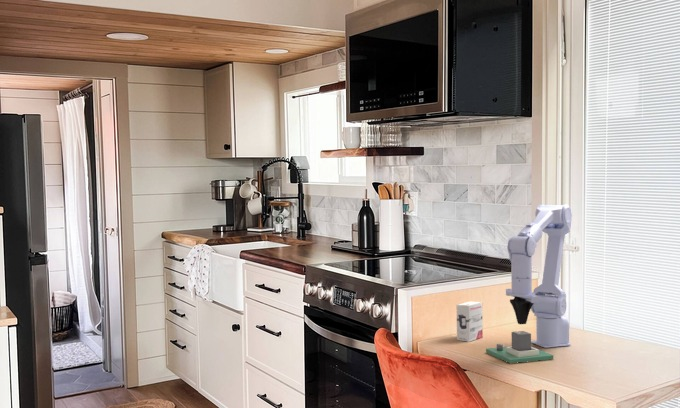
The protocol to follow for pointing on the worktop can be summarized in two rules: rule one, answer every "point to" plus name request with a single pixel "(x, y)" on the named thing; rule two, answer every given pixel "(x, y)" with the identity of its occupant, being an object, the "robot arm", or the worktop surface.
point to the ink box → (469, 321)
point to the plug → (521, 340)
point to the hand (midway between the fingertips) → (522, 323)
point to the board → (518, 354)
